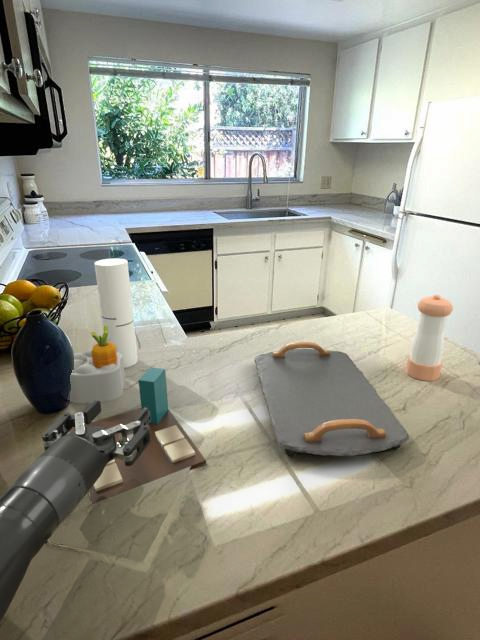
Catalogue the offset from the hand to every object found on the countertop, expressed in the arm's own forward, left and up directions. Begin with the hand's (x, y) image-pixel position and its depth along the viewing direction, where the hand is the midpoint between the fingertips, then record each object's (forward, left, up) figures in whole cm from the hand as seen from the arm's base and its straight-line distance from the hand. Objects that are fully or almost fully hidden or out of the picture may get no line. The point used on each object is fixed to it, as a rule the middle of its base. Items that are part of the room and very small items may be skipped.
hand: (122, 408), depth 64 cm
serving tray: (+38, -3, -9) cm, 40 cm away
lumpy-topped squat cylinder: (-1, +23, -10) cm, 25 cm away
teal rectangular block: (+7, +8, -9) cm, 14 cm away
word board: (+1, +2, -9) cm, 10 cm away
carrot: (+2, +21, -9) cm, 23 cm away
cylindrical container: (+8, +35, -10) cm, 37 cm away
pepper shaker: (+67, -6, -10) cm, 68 cm away
